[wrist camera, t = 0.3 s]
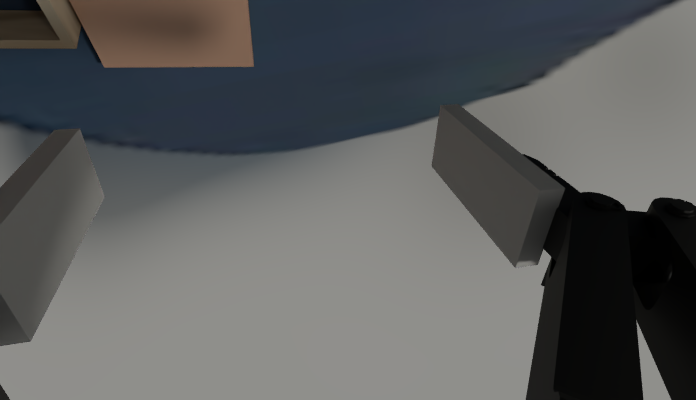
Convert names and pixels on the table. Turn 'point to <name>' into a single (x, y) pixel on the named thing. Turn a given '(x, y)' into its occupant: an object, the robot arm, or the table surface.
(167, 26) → the terracotta tile
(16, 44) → the birch collar
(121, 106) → the table surface
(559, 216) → the robot arm
